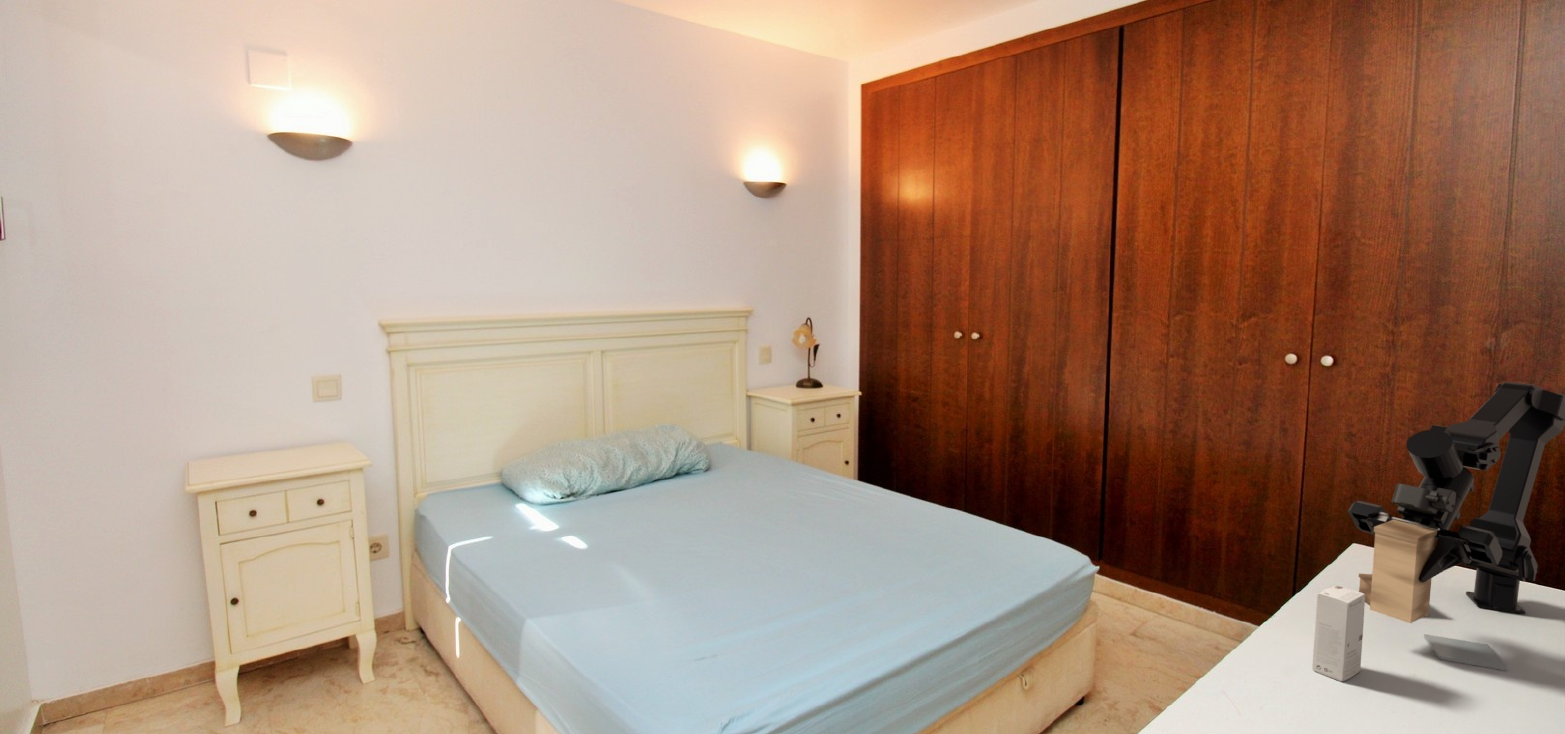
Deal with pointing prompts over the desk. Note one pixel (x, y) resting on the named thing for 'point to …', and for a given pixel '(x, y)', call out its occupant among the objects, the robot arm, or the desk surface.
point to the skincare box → (1338, 633)
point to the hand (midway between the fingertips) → (1398, 574)
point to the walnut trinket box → (1366, 586)
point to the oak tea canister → (1401, 570)
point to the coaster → (1465, 652)
